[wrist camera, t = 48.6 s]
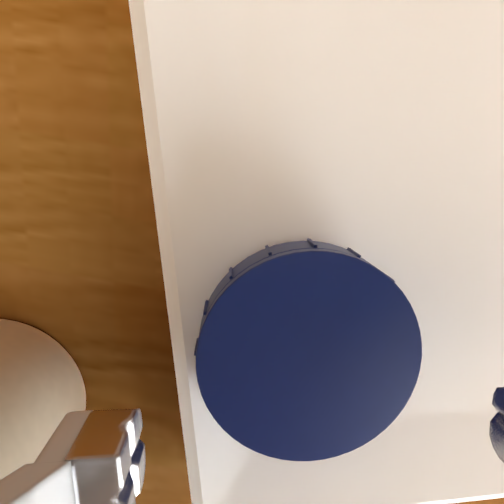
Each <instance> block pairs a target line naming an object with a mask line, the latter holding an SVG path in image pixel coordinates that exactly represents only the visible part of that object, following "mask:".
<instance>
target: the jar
mask: <svg viewBox="0 0 504 504" xmlns="http://www.w3.org/2000/svg"><path fill="white" fill-rule="evenodd" d="M85 409H86V392H85V385H84V382H83V378H82V375H81V373H80V371H79V368H78V366H77V365H76V363H75V361H74V360H73V358H72V357H71V356H70V354H69V353H68V352H67V351H66V350H65V349H64V348H63V347H62V346H61V345H60V344H59V343H58V342H57V341H56V340H54V339H53V338H52V337H50V336H49V335H47V334H46V333H44V332H42V331H41V330H39V329H37V328H34V327H32V326H30V325H27V324H24V323H21V322H17V321H12V320H7V319H0V480H1V479H3V478H4V477H6V476H7V475H9V474H11V473H12V472H14V471H15V470H17V469H19V468H20V467H22V466H23V465H25V464H31V463H34V462H35V460H36V459H37V457H38V456H39V454H40V453H41V451H42V450H43V448H44V447H45V445H46V444H47V442H48V441H49V439H50V437H51V436H52V434H53V433H54V431H55V430H56V428H57V427H58V425H59V424H60V422H61V421H62V419H63V418H64V416H65V415H66V414H67V413H69V412H73V411H85Z"/></svg>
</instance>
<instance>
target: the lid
mask: <svg viewBox="0 0 504 504" xmlns="http://www.w3.org/2000/svg"><path fill="white" fill-rule="evenodd" d="M194 356H196V375H197V382H198V386H199V389H200V393H201V396H202V398H203V400H204V402H205V405H206V407H207V408H208V410H209V412H210V413H211V415H212V416H213V418H214V419H215V421H216V422H217V423H218V424H219V425H220V426H221V428H222V429H223V430H224V431H225V432H226V433H228V434H229V435H230V436H231V437H232V438H233V439H235V440H236V441H238V442H239V443H240V444H242V445H243V446H245V447H247V448H249V449H251V450H253V451H255V452H257V453H260V454H263V455H266V456H268V457H272V458H277V459H281V460H289V461H316V460H324V459H328V458H332V457H337V456H340V455H342V454H345V453H348V452H351V451H353V450H355V449H357V448H359V447H361V446H363V445H365V444H366V443H368V442H369V441H371V440H372V439H374V438H375V437H377V436H378V435H379V434H380V433H382V432H383V431H384V430H385V429H386V428H387V427H388V426H389V425H390V424H391V423H392V422H393V421H394V420H395V419H396V418H397V417H398V415H399V414H400V413H401V411H402V410H403V409H404V407H405V405H406V404H407V402H408V400H409V399H410V397H411V395H412V393H413V390H414V388H415V386H416V383H417V379H418V376H419V372H420V367H421V360H422V340H421V333H420V328H419V324H418V321H417V317H416V315H415V313H414V310H413V308H412V306H411V304H410V302H409V301H408V299H407V298H406V296H405V294H404V293H403V292H402V290H401V289H400V288H399V287H398V286H397V285H396V284H395V281H394V280H393V279H392V278H391V277H389V276H388V275H386V274H385V273H383V272H382V271H381V270H379V269H378V268H376V267H375V266H373V265H372V264H370V263H369V262H368V261H366V260H365V259H363V258H362V257H361V255H360V254H358V253H357V252H355V251H354V250H352V249H351V248H349V247H348V248H347V249H345V248H343V247H340V246H336V245H333V244H330V243H325V242H318V241H312V240H311V239H310V238H307V241H292V242H285V243H281V244H277V245H273V246H270V247H269V246H268V245H266V246H265V249H262V250H260V251H258V252H256V253H254V254H252V255H250V256H248V257H247V258H246V259H244V260H243V261H241V262H240V263H238V264H237V265H236V266H235V267H234V268H232V267H230V268H229V272H228V273H227V274H226V275H225V277H224V278H223V279H222V280H221V281H220V282H219V284H218V285H217V287H216V288H215V290H214V291H213V293H212V294H211V296H210V298H209V300H206V301H205V305H204V311H203V317H202V320H201V325H200V331H199V337H198V338H197V340H196V345H195V351H194Z"/></svg>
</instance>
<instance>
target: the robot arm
mask: <svg viewBox="0 0 504 504" xmlns="http://www.w3.org/2000/svg"><path fill="white" fill-rule="evenodd" d="M492 405H493V406H494V408H495V409H496V411H497V413H496V414H495V416H494V417H493V418H492V419H491V421H490V429H489V436H490V439H491V443H492V447H493V449H494V450H495V452H496V454H497V456H498V457H499V458H500V459H501V460H502V462H503V463H504V387H497V388H496V390H495V392H494V394H493V400H492ZM142 427H143V423H142V415H141V411H140V409H139V408H138V409H113V410H94V411H92V410H87V411H73V412H69V413H67V414H66V415H65V416H64V418H63V419H62V421H61V422H60V424H59V425H58V427H57V428H56V430H55V431H54V433H53V434H52V436H51V437H50V439H49V441H48V442H47V444H46V445H45V447H44V448H43V450H42V451H41V453H40V454H39V456H38V457H37V459H36V460H35V462H34V463H31V464H25V465H23V466H22V467H20V468H19V469H17V470H15V471H14V472H12V473H11V474H9V475H7V476H6V477H4V478H3V479H1V480H0V504H136V502H135V497H136V496H137V495H138V494H140V493H141V490H142V486H143V482H144V474H145V444H144V443H143V442H142V441H141V440H140V439H139V437H140V434H141V431H142Z"/></svg>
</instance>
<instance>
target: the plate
mask: <svg viewBox="0 0 504 504" xmlns="http://www.w3.org/2000/svg"><path fill="white" fill-rule="evenodd" d="M128 1H129V8H130V16H131V24H132V32H133V40H134V48H135V56H136V64H137V72H138V80H139V88H140V96H141V104H142V112H143V120H144V128H145V136H146V144H147V152H148V160H149V167H150V175H151V183H152V191H153V199H154V207H155V215H156V223H157V231H158V239H159V247H160V255H161V263H162V271H163V279H164V287H165V295H166V303H167V311H168V319H169V327H170V334H171V342H172V350H173V358H174V366H175V374H176V382H177V390H178V398H179V406H180V414H181V422H182V430H183V438H184V446H185V454H186V462H187V470H188V478H189V486H190V493H191V501H192V504H450V503H459V502H468V501H477V500H486V499H495V498H504V463H503V462H502V460H501V459H500V458H499V457H498V456H497V454H496V452H495V450H494V449H493V447H492V443H491V439H490V436H489V429H490V421H491V419H492V418H493V417H494V416H495V414H496V413H497V411H496V409H495V408H494V406H493V405H492V400H493V394H494V392H495V390H496V388H497V387H504V0H128ZM307 238H310V239H311V240H312V241H318V242H325V243H330V244H333V245H336V246H340V247H343V248H345V249H347V248H348V247H349V248H351V249H352V250H354V251H355V252H357V253H358V254H360V255H361V257H362V258H363V259H365V260H366V261H368V262H369V263H370V264H372V265H373V266H375V267H376V268H378V269H379V270H381V271H382V272H383V273H385V274H386V275H388V276H389V277H391V278H392V279H393V280H394V281H395V284H396V285H397V286H398V287H399V288H400V289H401V290H402V292H403V293H404V294H405V296H406V298H407V299H408V301H409V302H410V304H411V306H412V308H413V310H414V313H415V315H416V317H417V321H418V324H419V328H420V333H421V340H422V360H421V367H420V372H419V376H418V379H417V383H416V386H415V388H414V390H413V393H412V395H411V397H410V399H409V400H408V402H407V404H406V405H405V407H404V409H403V410H402V411H401V413H400V414H399V415H398V417H397V418H396V419H395V420H394V421H393V422H392V423H391V424H390V425H389V426H388V427H387V428H386V429H385V430H384V431H383V432H382V433H380V434H379V435H378V436H377V437H375V438H374V439H372V440H371V441H369V442H368V443H366V444H365V445H363V446H361V447H359V448H357V449H355V450H353V451H351V452H348V453H345V454H342V455H340V456H337V457H332V458H328V459H324V460H316V461H289V460H281V459H277V458H272V457H268V456H266V455H263V454H260V453H257V452H255V451H253V450H251V449H249V448H247V447H245V446H243V445H242V444H240V443H239V442H238V441H236V440H235V439H233V438H232V437H231V436H230V435H229V434H228V433H226V432H225V431H224V430H223V429H222V428H221V426H220V425H219V424H218V423H217V422H216V421H215V419H214V418H213V416H212V415H211V413H210V412H209V410H208V408H207V407H206V405H205V402H204V400H203V398H202V396H201V393H200V389H199V386H198V382H197V375H196V356H194V351H195V345H196V340H197V338H198V337H199V331H200V325H201V320H202V317H203V311H204V305H205V301H206V300H209V298H210V296H211V294H212V293H213V291H214V290H215V288H216V287H217V285H218V284H219V282H220V281H221V280H222V279H223V278H224V277H225V275H226V274H227V273H228V272H229V268H230V267H232V268H234V267H235V266H236V265H237V264H238V263H240V262H241V261H243V260H244V259H246V258H247V257H248V256H250V255H252V254H254V253H256V252H258V251H260V250H262V249H265V246H266V245H268V246H269V247H270V246H273V245H277V244H281V243H285V242H292V241H307Z"/></svg>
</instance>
